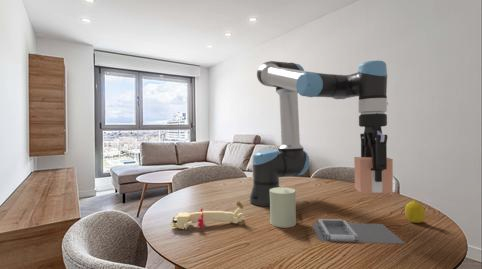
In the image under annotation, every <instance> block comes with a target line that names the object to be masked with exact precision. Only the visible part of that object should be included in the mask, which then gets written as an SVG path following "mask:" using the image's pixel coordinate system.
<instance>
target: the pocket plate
mask: <svg viewBox="0 0 482 269" xmlns="http://www.w3.org/2000/svg"><path fill="white" fill-rule="evenodd" d="M311 225H312V227H313V229H314V231H315V234H316V236H317V239H318V240H319V242H331V243H332V242H334V243H335V242H336V243H367V244H368V243H369V244H371V243H373V244H374V243H375V244H401V245H402V244H404V245H405V244H406V242H404V240H402V239H401V238H400V237H398V236H397V235H396V234H395V233H394V232H393V231H392V230H390V229H389V228H388V227H386V226H385V225H384V224H383V223H356V222H354V223H350V222H347V221H346V220H345V219H339V218H338V219H337V218H335V219H333V218H331V219H329V218H328V219H326V218H323V219H322V218H318V219H317V222H311Z"/></svg>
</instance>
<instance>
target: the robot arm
mask: <svg viewBox="0 0 482 269" xmlns="http://www.w3.org/2000/svg"><path fill="white" fill-rule="evenodd" d="M387 69H388V68H387V63H386V62H385V61H384V60H370V61H365V62H362V63H360V64H359V65H358V70H357V72H354V73H351V74H346V75H345V74H333V73H332V74H331V73H321V72H320V73H319V72H315V71H314V72H312V71H306V70H305V69H304V68H303V66H301V64H299V63H295V62H284V61H275V60H274V61H273V60H270V61H266V62H263V63H262V64H261V65H259V66H258V68H257V71H256V78H257V80H258V82H259V83H260V84H261V85H263V86H266V87H270V88H271V87H273V88H275V93H277V94H278V95H279V117H280V138H281V139H280V140H281V145H280V146H279V147H278V149H277V148H276V149H274V148H273V149H264V150H260V151H259V150H258V151H257V152H254V154H253V157H252V172H253V173H252V176H253V183H252V184H253V185H252V188H251V192H250V196H249V202H250V204H252V203H253V204H252V205H254V204H255V205H256V206H258V205H260V206H259V207H270V191H269V190H270V189H272V188H277V187H280V178H286V177H298V176H302V175H304V174H306V172H307V171H308V169H309V167H310V157H309V155H308V152H306V151H305V150H304V146H303V145H301V143H300V142H301V141H300V140H301V138H300V121H299V118H300V117H299V99H298V98H299V96H298V95H300V96H302V97H307V98H331V99H334V100H345V99H349V98H350V99H351V98H355V97H358V113H359V116H358V126H359V127H361V128H363V127H364V130H363V133H360V134H359V135H360V136H359V137H360V157H372V163H373V168H371V171H372V192H373V193H372V194H383V193H382V171H383V170H384V169H387V158H388V157H387V141H388V134H383V131H382V127H386V126H388V114H387V113H386V112H387V111H388V108H387V107H388V105H389V103H388V101H387V99H388V97H387V92H388V91H387V88H388V71H387Z"/></svg>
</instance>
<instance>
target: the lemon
mask: <svg viewBox="0 0 482 269" xmlns="http://www.w3.org/2000/svg"><path fill="white" fill-rule="evenodd" d="M404 214H405V217H406V219H407V220H408V221H409V222H411V223H413V224H420V223H422V222H423V221H424V220H425V217H426V212H425V207H424V206H423V205H422V204H421V203H420V202H418V201H417V200H413V201H410V202H407V204H406V205H405V208H404Z"/></svg>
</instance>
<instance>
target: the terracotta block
mask: <svg viewBox="0 0 482 269" xmlns="http://www.w3.org/2000/svg"><path fill="white" fill-rule="evenodd" d="M353 158H354V159H353V160H354V189H355V190H356V191H358V192H359V193H362V194H363V193H367V194H368V193H370V194H374V193H373V192H372V171H371V168H373V163H372V157H361V156H355V157H353ZM393 161H394V160H393V158H389V157H387V169H384V170H383V171H382V193H381V194H393V188H394V187H393V184H394V183H393V182H394V180H393V178H394V177H393V169H394V168H393V164H394V163H393Z"/></svg>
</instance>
